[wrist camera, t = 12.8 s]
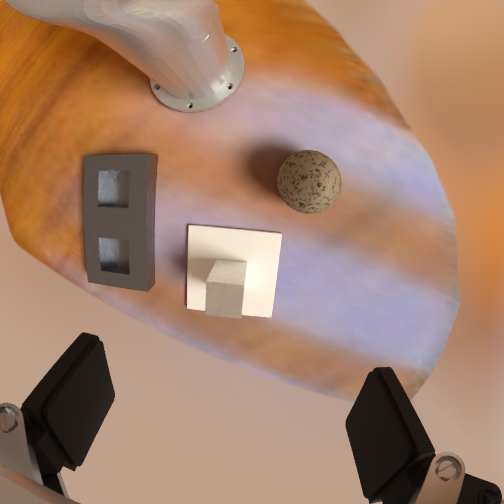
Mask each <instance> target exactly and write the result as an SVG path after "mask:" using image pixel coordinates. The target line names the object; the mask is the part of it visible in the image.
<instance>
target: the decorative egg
mask: <svg viewBox="0 0 504 504" xmlns="http://www.w3.org/2000/svg"><path fill="white" fill-rule="evenodd" d="M341 185H342V182H341V175H340V172H339V170H338V168H337V166H336V164H335V163H334V162H333V161H332V160H331V159H330V158H329V157H328V156H326V155H325V154H323V153H320V152H318V151H313V150H304V151H299V152H296V153H294V154H292V155H291V156H289V157H288V158H287V159H286V160H285V161H284V162H283V163H282V165H281V167H280V169H279V171H278V175H277V187H278V191H279V193H280V196H281V197H282V199H283V200H284V202H285V203H286V204H287V205H288V206H290V207H291V208H292V209H294V210H296V211H298V212H301V213H307V214H314V213H319V212H322V211H324V210H326V209H328V208H329V207H330V206H332V205H333V203H334V202H335V201H336V200H337V198H338V196H339V194H340V191H341Z"/></svg>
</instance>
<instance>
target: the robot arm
mask: <svg viewBox="0 0 504 504" xmlns="http://www.w3.org/2000/svg"><path fill="white" fill-rule="evenodd" d="M5 1H6V2H7V4H8V5H10V6H11V7H12V8H13V9H14V10H16V11H17V12H19V13H21V14H23V15H25V16H27V17H30V18H32V19H35V20H37V21H41V22H44V23H48V24H52V25H56V26H61V27H65V28H69V29H74V30H77V31H80V32H83V33H85V34H88V35H90V36H92V37H94V38H96V39H98V40H99V41H101V42H102V43H104V44H105V45H107V46H108V47H110V48H111V49H113V50H114V51H115V52H117V53H118V54H119V55H121V56H122V57H123V58H125V59H126V60H127V61H129V62H130V63H131V64H133V65H134V66H135V67H137V68H138V69H139V70H141V71H142V72H143V73H144V74H146V75H147V76H148V77H149V79H150V85H151V88H152V91H153V93H154V94H155V96H156V97H157V98H158V99H159V100H160V101H161V102H162V103H163V104H165V105H166V106H168V107H169V108H172V109H174V110H177V111H181V112H190V113H194V112H202V111H205V110H209V109H212V108H214V107H216V106H218V105H220V104H221V103H223V102H224V101H226V100H227V99H228V98H229V97H230V96H231V95H232V94H233V93H234V92H235V91H236V90H237V88H238V87H239V85H240V83H241V81H242V79H243V75H244V70H245V62H244V56H243V54H242V51H241V49H240V47H239V46H238V44H237V43H236V42H235V41H234V40H233V39H232V38H231V37H229V36H228V35H226V34H224V30H223V27H222V23H221V20H220V16H219V13H218V10H219V6H218V5H217V4H216V2H215V0H5ZM233 51H236V52H233ZM159 87H160V89H159V90H158V88H159ZM229 87H232V89H228V88H229ZM191 105H193V107H192V108H189V107H190V106H191ZM114 398H115V392H114V388H113V385H112V380H111V377H110V373H109V368H108V364H107V359H106V355H105V350H104V345H103V342H102V341H100V340H99V337H98V336H96V335H92V334H89V333H85V332H83V333H81V334H80V335H79V336H78V338H77V339H76V340H75V341H74V342H73V343H72V344H71V345H70V347H69V348H68V349H67V350H66V351H65V352H64V354H63V355H62V356H61V357H60V358H59V359H58V361H57V362H56V363H55V364H54V365H53V366H52V368H51V369H50V370H49V371H48V372H47V374H46V375H45V376H44V377H43V379H42V380H41V381H40V382H39V383H38V385H37V386H36V387H35V388H34V390H33V391H32V392H31V394H30V395H29V396H28V397H27V399H26V400H25V401H24V403H23V404H22V407H21V409H19V408H18V407H17V406H16V405H14V404H11V403H2V404H0V504H79V503H77V502H75V501H73V500H71V499H70V498H69V495H68V493H67V490H66V487H65V485H64V482H63V479H62V476H61V473H60V471H61V469H62V467H63V466H64V467H66V468H68V469H71V470H73V471H75V469H76V467H77V466H81V465H82V463H83V461H84V459H85V457H86V455H87V453H88V451H89V449H90V447H91V445H92V443H93V441H94V438H95V437H96V434H97V433H98V431H99V429H100V427H101V425H102V422H103V421H104V419H105V417H106V415H107V413H108V411H109V409H110V407H111V405H112V403H113V401H114ZM346 430H347V434H348V437H349V441H350V445H351V448H352V452H353V456H354V459H355V463H356V467H357V471H358V475H359V478H360V483H361V487H362V491H363V495H364V497H365V498H368V500H369V504H372V503H376V502H381V501H382V502H383V504H504V499H503V500H502V494H501V491H500V489H499V487H498V486H497V485H495V484H493V483H491V482H488V481H485V480H482V479H480V478H477V477H474V476H471V475H469V474H466V473H465V465H464V462H463V461H462V459H461V458H460V457H459V456H457V455H456V454H454V453H450V452H443V453H440V454H438V455H437V456H436V455H435V449H434V447H433V445H432V443H431V441H430V439H429V437H428V435H427V433H426V431H425V429H424V427H423V425H422V423H421V421H420V419H419V417H418V415H417V413H416V412H415V410H414V408H413V406H412V404H411V402H410V400H409V398H408V396H407V395H406V393H405V391H404V389H403V387H402V385H401V384H400V382H399V380H398V378H397V376H396V375H395V373H394V371H393V369H392V368H391V367H377V368H375V369H374V370H373V371H372V372H369V374H368V376H367V378H366V380H365V382H364V385H363V387H362V389H361V391H360V393H359V395H358V397H357V399H356V401H355V403H354V405H353V407H352V409H351V411H350V413H349V415H348V417H347V419H346Z"/></svg>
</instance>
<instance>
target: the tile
mask: <svg viewBox="0 0 504 504" xmlns="http://www.w3.org/2000/svg"><path fill="white" fill-rule="evenodd" d="M281 238H282V233H278V232H267V231H257V230H247V229H236V228H225V227H214V226H202V225H189V233H188V267H187V308H188V309H195V310H203V311H205V301H206V281H207V279H208V277H209V274H210V272H211V270H212V268H213V266H214V264H215V262H216V260H217V259H225V260H235V261H245V262H247V273H246V284H245V293H244V301H243V309H242V315H250V316H261V317H271V316H272V308H273V301H274V294H275V286H276V278H277V270H278V263H279V254H280V246H281Z"/></svg>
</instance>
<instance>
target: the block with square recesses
mask: <svg viewBox="0 0 504 504" xmlns="http://www.w3.org/2000/svg"><path fill="white" fill-rule="evenodd" d="M157 162H158V155H155V154H113V155H92V156H85V161H84V185H83V217H84V241H85V256H86V267H87V277H88V282H90V283H96V284H102V285H108V286H114V287H120V288H126V289H133V290H139V291H146V292H148V291H149V290H150V289H151V288H152V287H153V285H154V284H155V249H154V239H155V196H156V177H157Z"/></svg>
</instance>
